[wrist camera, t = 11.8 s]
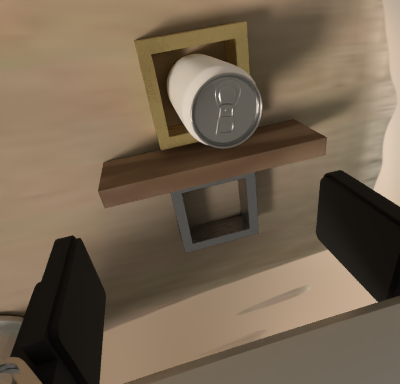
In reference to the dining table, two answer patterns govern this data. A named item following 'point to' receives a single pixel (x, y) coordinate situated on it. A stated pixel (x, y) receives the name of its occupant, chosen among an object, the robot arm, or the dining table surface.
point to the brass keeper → (145, 47)
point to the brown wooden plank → (206, 163)
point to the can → (214, 100)
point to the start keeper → (225, 227)
